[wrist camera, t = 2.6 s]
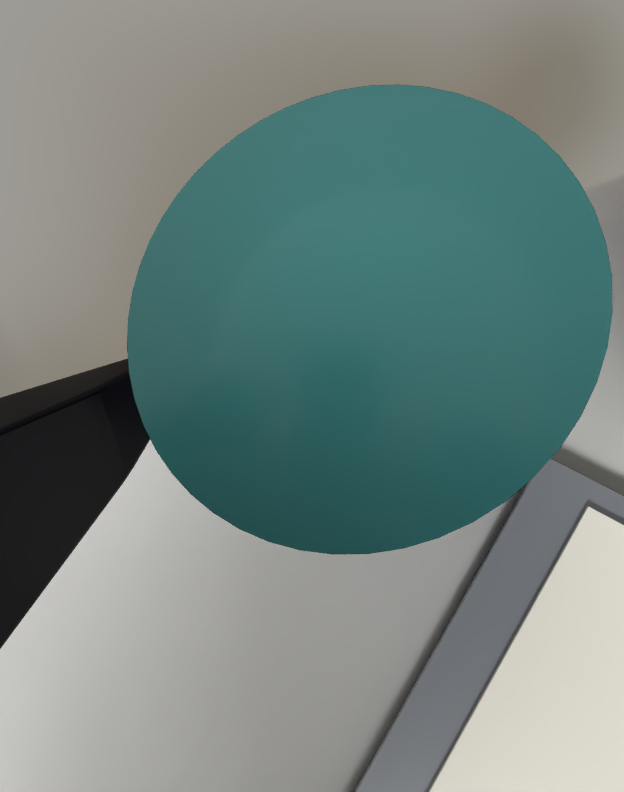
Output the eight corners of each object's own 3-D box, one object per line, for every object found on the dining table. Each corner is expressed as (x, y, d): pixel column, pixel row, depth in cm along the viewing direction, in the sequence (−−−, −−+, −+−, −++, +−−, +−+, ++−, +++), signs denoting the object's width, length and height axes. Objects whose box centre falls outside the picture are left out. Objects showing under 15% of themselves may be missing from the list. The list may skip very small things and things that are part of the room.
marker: (460, 533, 15) (436, 674, 3) (367, 477, 16) (54, 398, 4) (513, 439, 15) (720, 167, 3) (417, 390, 16) (268, 40, 4)
